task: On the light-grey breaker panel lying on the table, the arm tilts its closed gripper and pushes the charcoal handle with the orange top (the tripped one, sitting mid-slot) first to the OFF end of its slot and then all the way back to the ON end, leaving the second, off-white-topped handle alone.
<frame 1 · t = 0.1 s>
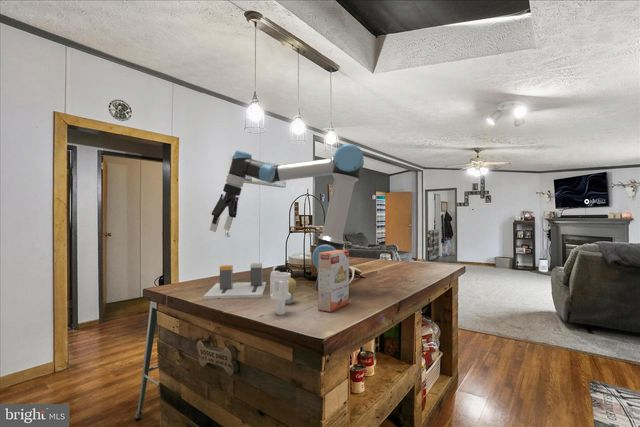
hand: (219, 230, 149), 28 cm above the table, tool tilted 20°, fingers open, 13 cm apart
breaker panel: (237, 290, 151), on the table
medicine bottle: (279, 294, 146), on the table
tripped breaker handle: (226, 276, 151), point 7 cm above the table, slide at 0.0 cm
cracker box: (334, 307, 124), on the table
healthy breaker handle: (256, 287, 157), resting on breaker panel
strainer: (280, 314, 116), on the table
light bulb: (288, 303, 130), on the table
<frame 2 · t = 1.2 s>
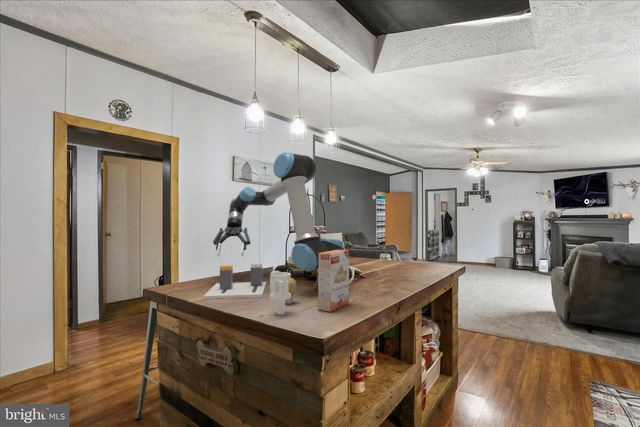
hand: (230, 254, 161), 15 cm above the table, tool tilted 45°, fingers open, 11 cm apart
nothing on the table moved.
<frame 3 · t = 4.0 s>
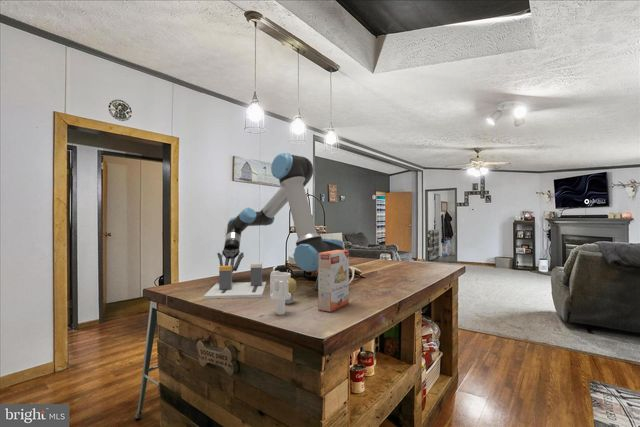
hand: (226, 282, 153), 3 cm above the table, tool tilted 45°, fingers closed
tripped breaker handle: (225, 277, 150), point 7 cm above the table, slide at -1.1 cm, touching gripper
everything else where it was.
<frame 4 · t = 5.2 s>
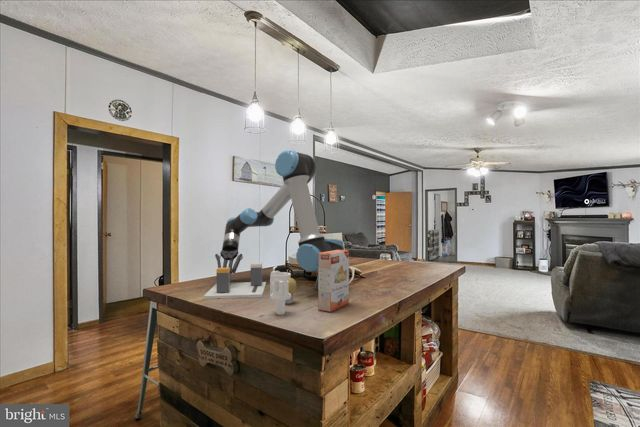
hand: (224, 285, 147), 4 cm above the table, tool tilted 45°, fingers closed
tripped breaker handle: (223, 279, 144), point 6 cm above the table, slide at -6.9 cm
everything else where it was.
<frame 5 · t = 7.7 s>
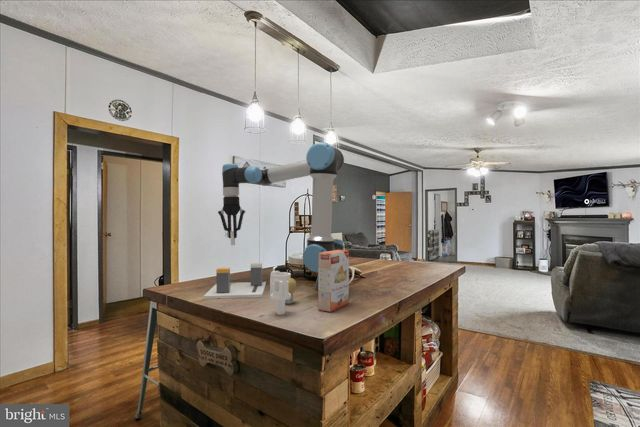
hand: (232, 244, 161), 20 cm above the table, tool pointing down, fingers closed
nothing on the table moved.
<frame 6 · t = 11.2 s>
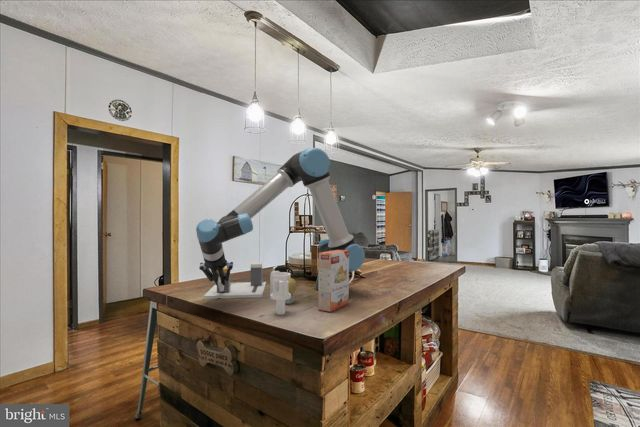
hand: (222, 288, 141), 3 cm above the table, tool tilted 45°, fingers closed
tripped breaker handle: (223, 279, 144), point 6 cm above the table, slide at -6.5 cm, touching gripper
everything else where it was.
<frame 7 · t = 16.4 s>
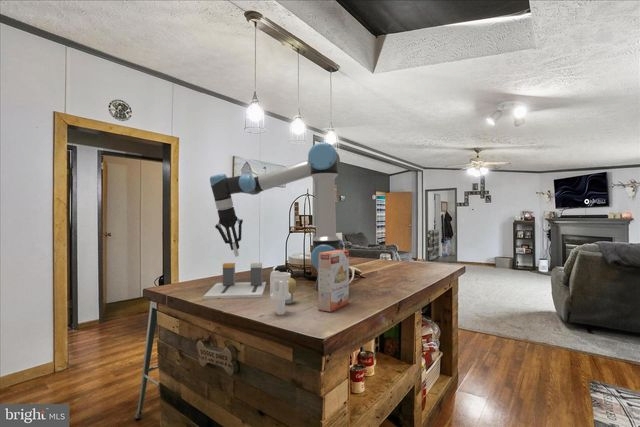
hand: (237, 255, 158), 15 cm above the table, tool tilted 15°, fingers closed
tripped breaker handle: (228, 274, 158), point 7 cm above the table, slide at 7.0 cm
everything else where it was.
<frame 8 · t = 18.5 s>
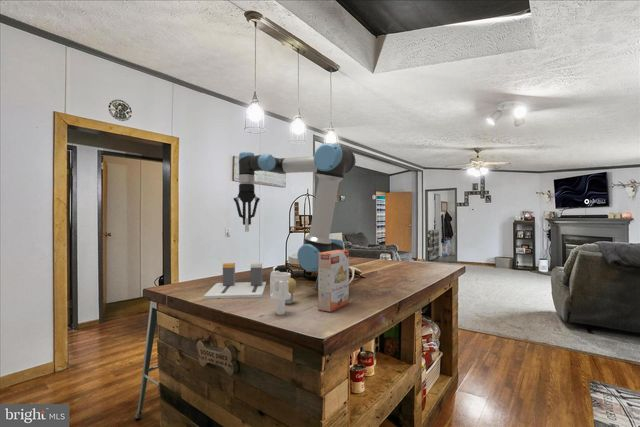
hand: (246, 231, 165), 26 cm above the table, tool pointing down, fingers closed
nothing on the table moved.
at the end: tripped breaker handle slide at 7.0 cm; tripped breaker handle touching nothing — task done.
